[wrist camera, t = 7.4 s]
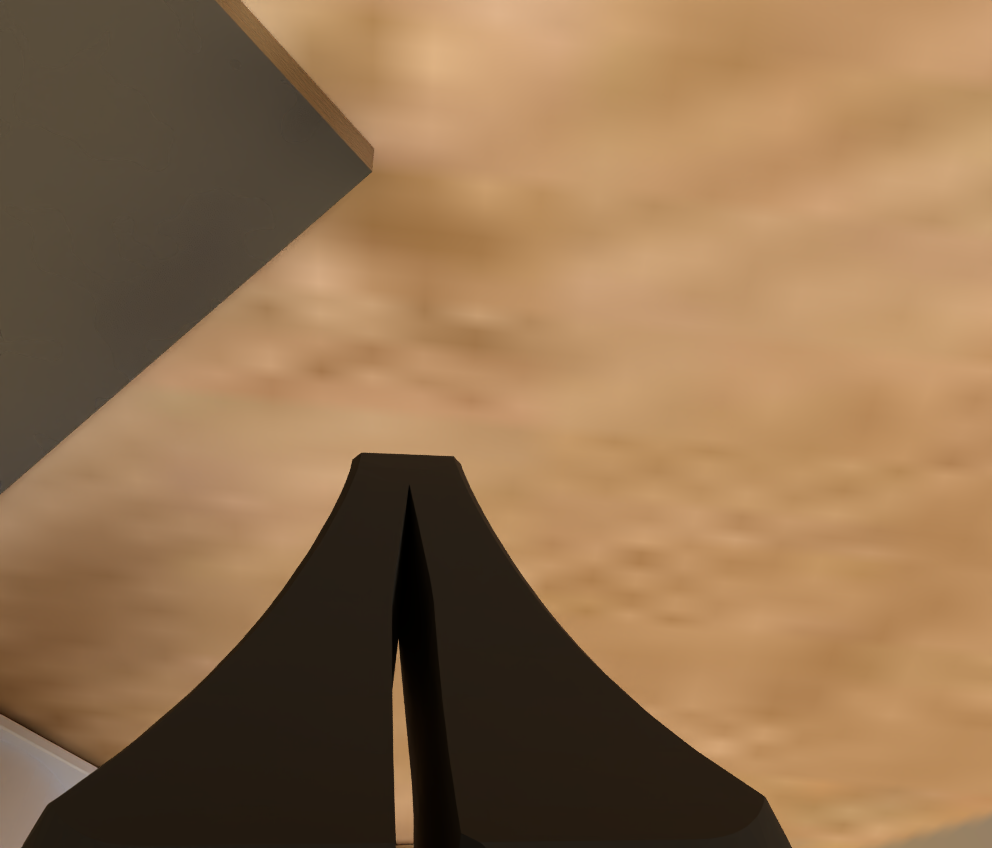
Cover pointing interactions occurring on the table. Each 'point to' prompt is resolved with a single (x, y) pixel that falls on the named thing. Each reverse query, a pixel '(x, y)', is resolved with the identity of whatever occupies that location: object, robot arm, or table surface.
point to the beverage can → (404, 846)
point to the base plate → (141, 190)
